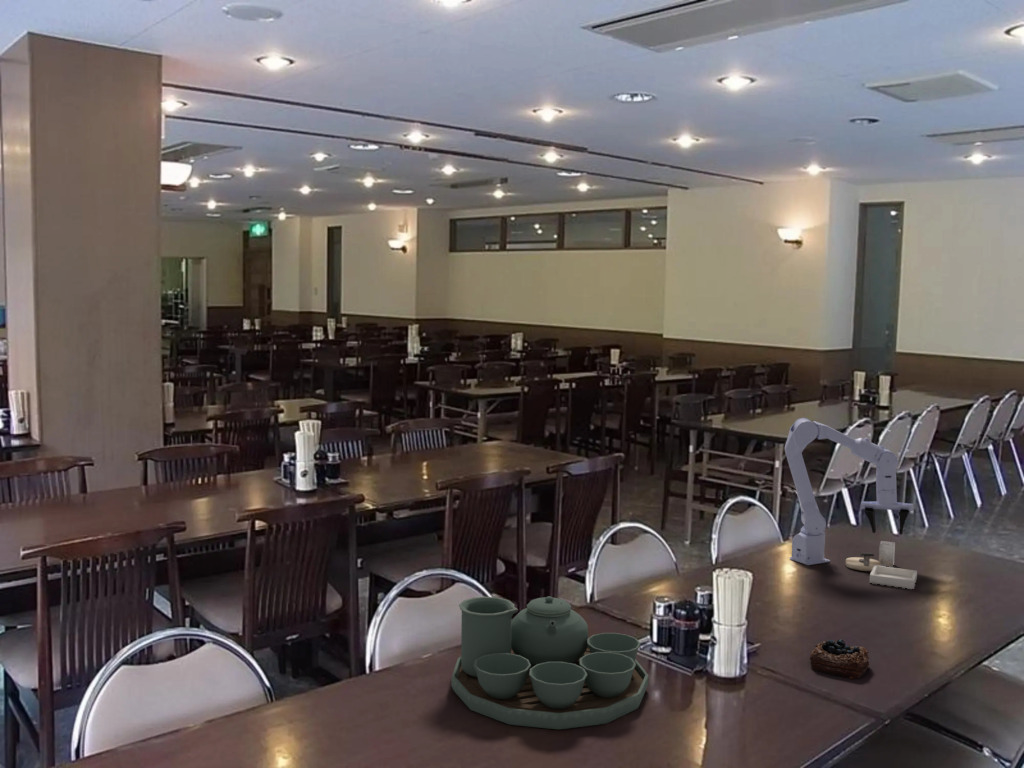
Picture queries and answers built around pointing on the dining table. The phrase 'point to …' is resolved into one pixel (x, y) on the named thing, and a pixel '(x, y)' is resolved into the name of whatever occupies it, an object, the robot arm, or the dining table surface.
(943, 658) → the dining table surface
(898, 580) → the tray
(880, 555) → the block
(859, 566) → the crank
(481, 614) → the tea set
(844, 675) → the pastry
